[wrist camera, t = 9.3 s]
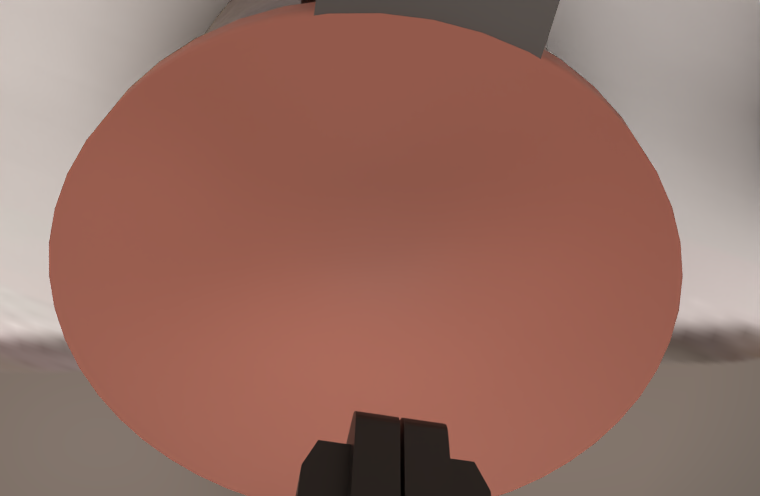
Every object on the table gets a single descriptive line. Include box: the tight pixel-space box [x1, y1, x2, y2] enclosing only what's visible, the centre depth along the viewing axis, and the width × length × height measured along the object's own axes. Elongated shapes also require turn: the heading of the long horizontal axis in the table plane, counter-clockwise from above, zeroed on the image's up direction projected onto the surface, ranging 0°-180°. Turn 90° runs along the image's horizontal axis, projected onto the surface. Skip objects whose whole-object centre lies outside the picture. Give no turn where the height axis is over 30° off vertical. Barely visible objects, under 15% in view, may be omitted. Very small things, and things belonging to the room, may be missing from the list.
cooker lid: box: [49, 0, 682, 496], centre depth 20 cm, size 20×17×1 cm
